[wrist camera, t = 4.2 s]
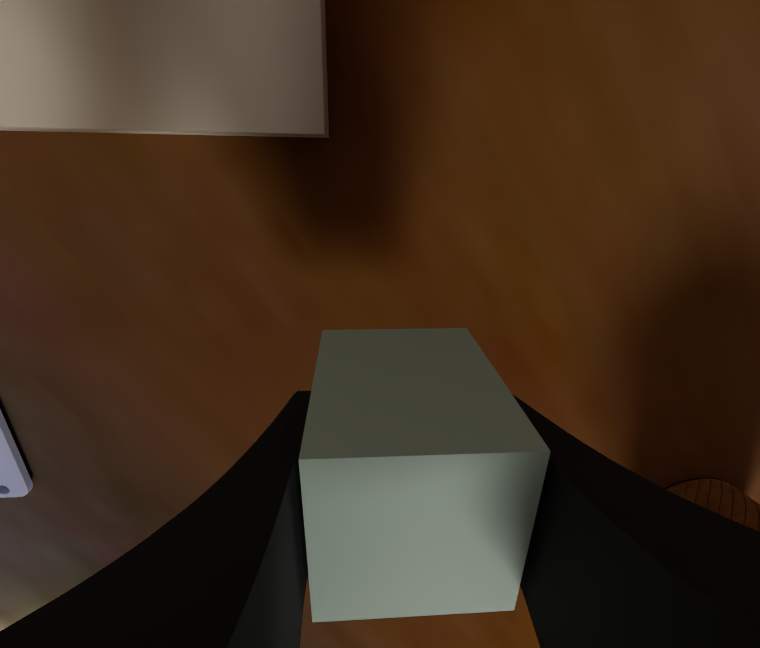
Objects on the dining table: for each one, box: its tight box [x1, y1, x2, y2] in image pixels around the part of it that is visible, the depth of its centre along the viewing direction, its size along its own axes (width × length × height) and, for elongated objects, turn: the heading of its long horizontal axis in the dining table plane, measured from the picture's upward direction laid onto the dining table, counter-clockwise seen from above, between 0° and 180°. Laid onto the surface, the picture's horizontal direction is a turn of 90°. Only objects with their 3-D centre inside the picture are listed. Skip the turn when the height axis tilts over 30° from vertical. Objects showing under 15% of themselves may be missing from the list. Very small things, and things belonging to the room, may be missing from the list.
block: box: [299, 328, 551, 622], centre depth 9 cm, size 4×4×5 cm
